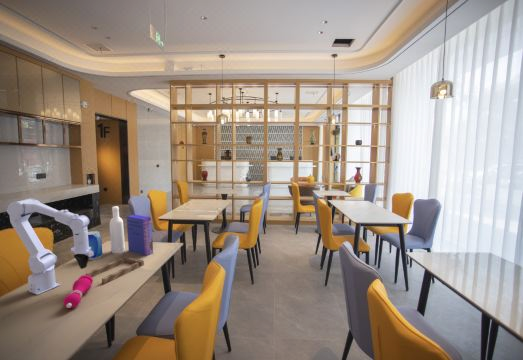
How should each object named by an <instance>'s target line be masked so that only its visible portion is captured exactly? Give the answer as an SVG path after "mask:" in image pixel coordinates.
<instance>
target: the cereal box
mask: <svg viewBox="0 0 523 360" xmlns="http://www.w3.org/2000/svg"><path fill="white" fill-rule="evenodd" d="M152 222H153V221H152V217H150V216H146V215H145V216H144V215H138V214H129V215H126V227H127V228H126V229H127V244H128V245H127V246H128V252H131V253H135V254H138V255H142V256H147V257H148V256H150V255H153V254H154V246H153V245H154V242H153V227H152V226H153V225H152V224H153V223H152Z"/></svg>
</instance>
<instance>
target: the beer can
mask: <svg viewBox="0 0 523 360" xmlns="http://www.w3.org/2000/svg"><path fill="white" fill-rule="evenodd" d="M88 242H89V247H91V249H90V250H91V251H93V253H94V255H93V256H91V257H89V259H88V261H89V260H90V261H92V260H97V259H101V258H102V256H103V242H102V234H101V233H100V231H97V230H94V231H88Z"/></svg>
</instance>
